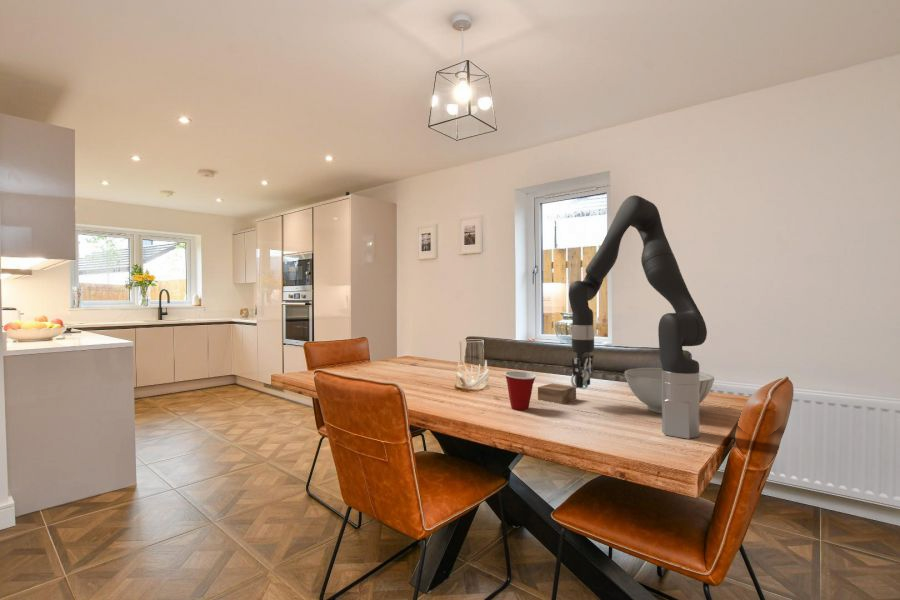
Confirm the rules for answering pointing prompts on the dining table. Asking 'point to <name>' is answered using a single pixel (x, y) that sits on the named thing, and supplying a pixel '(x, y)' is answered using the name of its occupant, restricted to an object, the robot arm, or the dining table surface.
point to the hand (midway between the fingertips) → (583, 385)
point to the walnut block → (556, 393)
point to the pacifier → (585, 378)
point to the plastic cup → (519, 388)
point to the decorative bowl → (659, 386)
